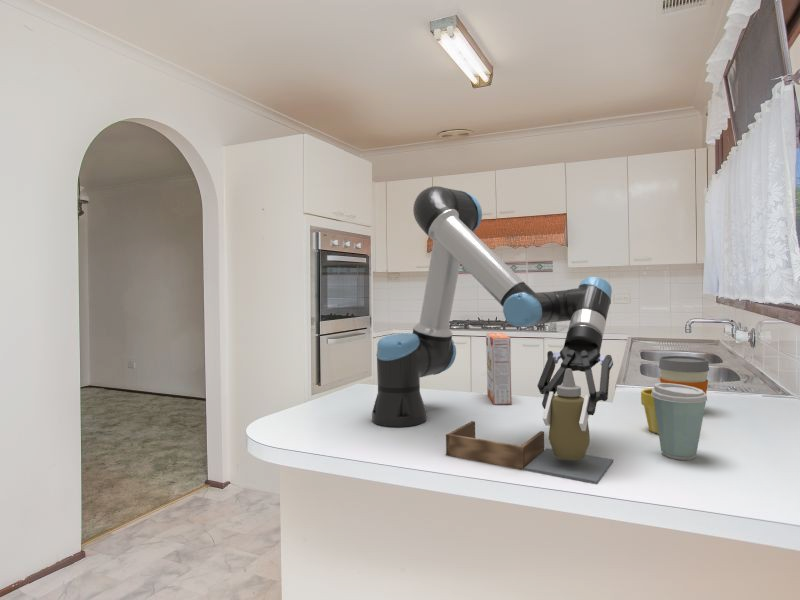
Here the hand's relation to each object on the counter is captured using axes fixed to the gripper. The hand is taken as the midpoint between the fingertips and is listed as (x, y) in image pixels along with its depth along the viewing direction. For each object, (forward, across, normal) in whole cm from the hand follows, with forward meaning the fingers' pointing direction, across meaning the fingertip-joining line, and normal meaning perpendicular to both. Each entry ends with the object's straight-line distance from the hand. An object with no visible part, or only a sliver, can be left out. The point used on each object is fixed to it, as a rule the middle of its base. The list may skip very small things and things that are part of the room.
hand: (563, 424), depth 103 cm
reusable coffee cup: (-38, -15, -52) cm, 66 cm away
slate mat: (+4, 0, -9) cm, 10 cm away
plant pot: (-21, -13, -35) cm, 43 cm away
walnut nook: (+4, +16, -9) cm, 19 cm away
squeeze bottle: (+3, 0, -8) cm, 8 cm away
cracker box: (-30, +36, -43) cm, 64 cm away
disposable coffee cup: (-8, -18, -22) cm, 30 cm away
